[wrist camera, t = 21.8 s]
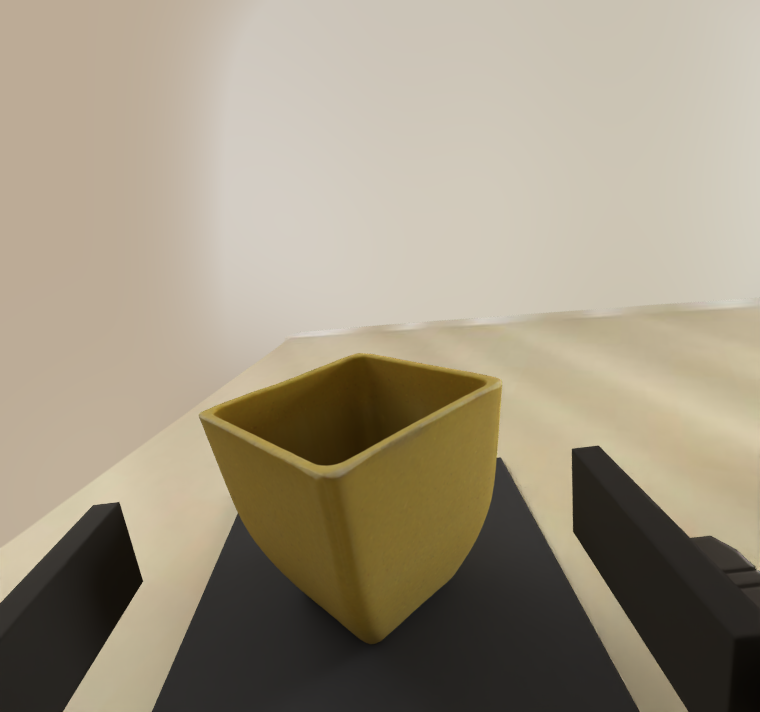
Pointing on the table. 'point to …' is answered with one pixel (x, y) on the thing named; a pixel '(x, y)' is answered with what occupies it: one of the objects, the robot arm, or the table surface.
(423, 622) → the felt pad
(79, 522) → the robot arm
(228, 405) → the flower pot
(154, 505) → the table surface
